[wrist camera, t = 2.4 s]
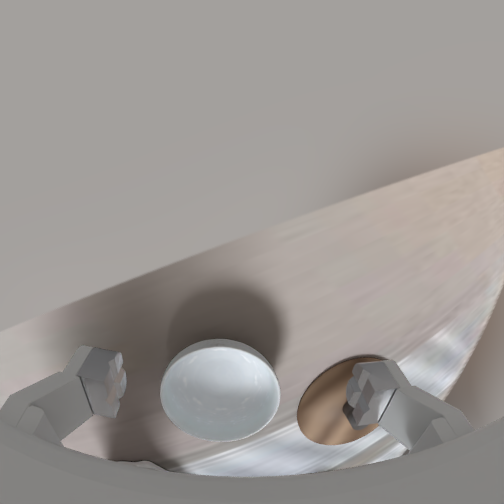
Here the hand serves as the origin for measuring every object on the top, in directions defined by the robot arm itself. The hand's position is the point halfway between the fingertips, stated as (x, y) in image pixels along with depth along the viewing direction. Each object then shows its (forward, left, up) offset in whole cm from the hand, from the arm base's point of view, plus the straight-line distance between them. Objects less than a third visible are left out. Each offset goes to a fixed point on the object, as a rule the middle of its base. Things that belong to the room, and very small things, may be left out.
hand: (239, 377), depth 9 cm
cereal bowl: (-8, +18, -32) cm, 38 cm away
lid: (-32, +14, -32) cm, 48 cm away
